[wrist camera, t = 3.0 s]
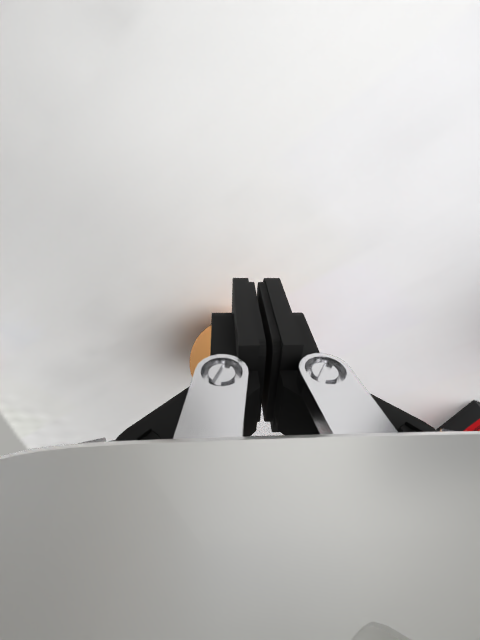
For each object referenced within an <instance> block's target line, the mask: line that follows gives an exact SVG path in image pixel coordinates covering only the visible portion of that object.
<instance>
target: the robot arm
mask: <svg viewBox="0 0 480 640" xmlns="http://www.w3.org/2000/svg"><path fill="white" fill-rule="evenodd" d="M261 404H262V409H263V416H264V421H265V422H270V423H271V429H272V432H281V433H282V434H284V435H282V436H251V435H252V434H253V433H254V432H255V431H256V427H257V422H260V415H261ZM0 640H480V431H453V430H447V429H440V431H439V432H437V431H436V430H435V429H434V428H433V427H431V426H430V425H428V424H427V423H425V422H423V421H422V420H420V419H418V418H416V417H414V416H412V415H410V414H408V413H406V412H404V411H402V410H401V409H399V408H397V407H395V406H393V405H391V404H389V403H387V402H385V401H383V400H381V399H380V398H378V397H376V396H374V395H372V394H370V393H369V392H368V391H367V389H366V388H365V387H364V385H363V384H362V383H361V381H360V380H359V379H358V377H357V376H356V375H355V373H354V372H353V370H352V369H351V368H350V366H349V365H348V364H347V363H346V362H345V361H343V360H341V359H340V358H338V357H336V356H333V355H330V354H325V353H319V350H318V348H317V345H316V343H315V341H314V338H313V336H312V333H311V331H310V329H309V326H308V324H307V321H306V319H305V317H304V315H303V313H292V311H291V308H290V305H289V303H288V300H287V297H286V295H285V292H284V289H283V286H282V284H281V281H280V279H279V278H264V280H263V282H258V287H257V295H256V290H255V285H254V282H249V281H248V278H233V288H232V313H212V323H211V349H210V356H209V357H207V358H205V359H203V360H202V361H201V362H199V363H198V365H197V367H196V368H195V371H194V374H193V378H192V381H191V384H190V386H189V387H188V388H186V389H185V390H184V391H182V392H181V393H179V394H178V395H176V396H175V397H173V398H172V399H170V400H169V401H167V402H166V403H164V404H163V405H161V406H160V407H158V408H157V409H155V410H154V411H153V412H151V413H150V414H148V415H147V416H145V417H144V418H142V419H141V420H139V421H138V422H136V423H135V424H133V425H132V426H130V427H129V428H127V429H126V430H125V431H124V432H123V433H121V434H120V435H119V436H118V437H117V439H116V440H113V441H108V442H106V438H101V439H96V440H92V441H87V442H82V443H78V444H66V445H55V446H48V447H42V448H35V449H29V450H24V451H20V452H16V453H11V454H7V455H3V456H0Z"/></svg>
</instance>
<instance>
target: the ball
mask: <svg viewBox="0 0 480 640" xmlns="http://www.w3.org/2000/svg"><path fill="white" fill-rule="evenodd" d="M210 349H211V325H210V326H209V327H208V328H206V329H205V330H204V331H203V332H202V333H201V334H200V335H199V336H198V338H197V339H196V341H195V342H194V345H193V347H192V350H191V354H190V371H191V375H192V378H193V374H194V371H195V368H196V367H197V365H198V363H199V362H201V361H202V360H203V359H205V358H207V357H209V356H210Z"/></svg>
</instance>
